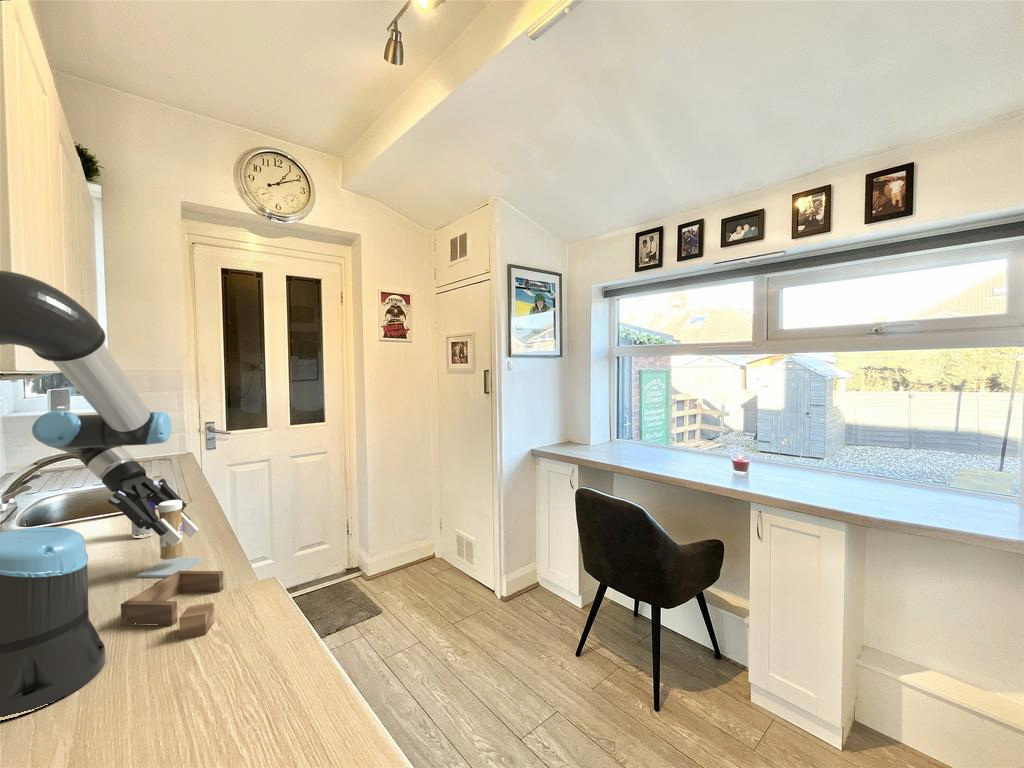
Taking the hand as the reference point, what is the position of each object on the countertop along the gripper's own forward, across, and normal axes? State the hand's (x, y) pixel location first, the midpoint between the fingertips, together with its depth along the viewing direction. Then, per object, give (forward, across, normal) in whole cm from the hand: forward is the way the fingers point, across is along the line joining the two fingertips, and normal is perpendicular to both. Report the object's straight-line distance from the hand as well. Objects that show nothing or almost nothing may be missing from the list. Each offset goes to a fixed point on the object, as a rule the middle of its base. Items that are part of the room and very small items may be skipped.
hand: (185, 537), depth 103 cm
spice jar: (+1, 0, -6) cm, 6 cm away
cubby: (+13, +16, +3) cm, 21 cm away
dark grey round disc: (+7, +7, -4) cm, 11 cm away
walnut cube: (+21, +24, +10) cm, 34 cm away
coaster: (+3, 0, -8) cm, 9 cm away
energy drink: (-15, -20, -27) cm, 37 cm away
